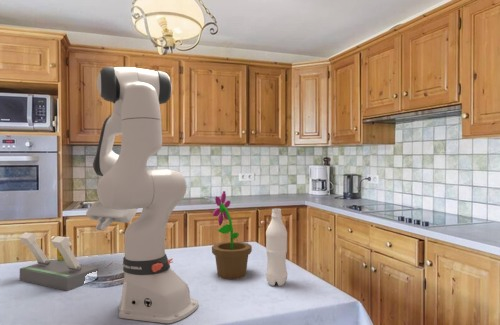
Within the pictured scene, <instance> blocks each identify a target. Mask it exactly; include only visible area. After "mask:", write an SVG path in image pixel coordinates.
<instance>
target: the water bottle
mask: <svg viewBox="0 0 500 325" xmlns="http://www.w3.org/2000/svg"><path fill="white" fill-rule="evenodd" d="M282 217H283V215H282V209H281V208H271V220H270V223H269V224H268V226H267V228H266V231H265V237H266V238H265V239H266V241H265V242H266V243H265V245H266V246H265V250H266V257H267V267H266V271H265V277H266V278H265V279H266V281H267V282H268V284H269V285H270V286H272V287H273V286H275V285H276V283H277V285H278V287H281V286H284V285H285V284H286V282H287V280H288V271H287V265H286V264H287V263H286V262H287V261H286V260H287V258H286V257H287V252H288V231H287V228H286V226H285V223H284V222H283V220H282Z"/></svg>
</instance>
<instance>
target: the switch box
mask: <svg viewBox="0 0 500 325" xmlns="http://www.w3.org/2000/svg"><path fill="white" fill-rule="evenodd" d="M49 260H50V264H49V265H44V264H39V263H36V264H35V263H34V264H31V265H28V266H25V267H21V268H19V281H23V282H26V283H31V284H36V285H39V286H45V287H48V288H53V289H57V290H61V291H66V292H69V291H71V290H73V289H74V290H75V289H76V288H79V287H81V286H84V285H85V284H84V281H85V276H86V275H87V274H89V273H92V272H96V271H98V272H99V268H98V267H95V266H90V265H84V264H79V265H80V266H82V269H81V270H80V271H76V270H70V269H68V265H67V264H66V262H63V261H57V259H56V260H55V259H49ZM83 284H84V285H83Z"/></svg>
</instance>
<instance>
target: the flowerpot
mask: <svg viewBox="0 0 500 325" xmlns="http://www.w3.org/2000/svg"><path fill="white" fill-rule="evenodd" d="M226 198H227V194H226V191H225V190H223V191H222V193H221V196H217V195H216V196H215V198H214V199H215V201H214V202H215V204H216V206H217V208H216V209H214V211H213V213H212V215H213V217H218V220H217V221H218V226H221V227H220V228H218V230H217V231H218V233H220V234H223V235H224V234H230V235H229V236H230V241H223V242H218V243H215V244H213V245H212V246H211V253H212V254H213V255H214V257H215V264H216V271H217V276H218V277H219V278H220V277H221V279H224V280H238V279H237V278H239V279H242V278H244V276H246V275H247V271H248V270H247V268H248V261H249V255H251V253H252V251H253V249H252V245H251V244H250V243H248V242H243V241H234V240H235V239H238V237H239V235H240V233H239V232H234V228H233V221H232V218H231V215H230V214H229V210H228V208H229V207H230V206H231V200H228V199H227V200H226ZM218 207H219V208H218ZM224 219H225V220H228V224H227V223H226V224H224V225H223V226H222V224H223V222H224ZM241 277H242V278H241Z"/></svg>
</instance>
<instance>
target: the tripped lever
mask: <svg viewBox="0 0 500 325" xmlns="http://www.w3.org/2000/svg"><path fill="white" fill-rule="evenodd" d="M67 237H68V236H59V235H56V236H55V237H54V238H53V239H51V241H50V243H51V245H52V246H53V247H54V248H55V249H57V248H58V250H59V252H60V253H61V255H62V257H63V258H64V260H65V262H66V264H67V265H68V269H70V270H76V271H80V270H81V269H82V266H80V265H81V264H80V263H79V261H78V260H77V258H76V256H75V254H74V252H73V250H72V251H71V249H70V247H69V244H70V243H69V242H70V241H68V239H67Z"/></svg>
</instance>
